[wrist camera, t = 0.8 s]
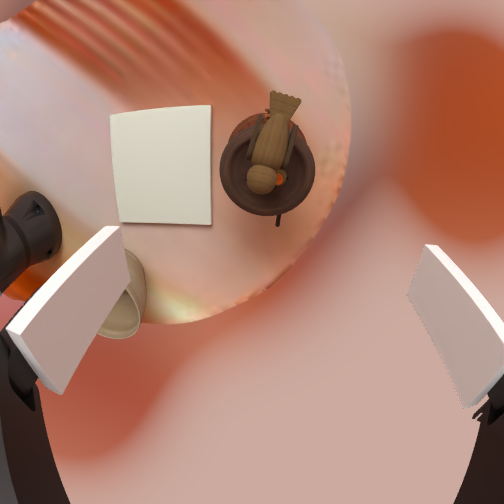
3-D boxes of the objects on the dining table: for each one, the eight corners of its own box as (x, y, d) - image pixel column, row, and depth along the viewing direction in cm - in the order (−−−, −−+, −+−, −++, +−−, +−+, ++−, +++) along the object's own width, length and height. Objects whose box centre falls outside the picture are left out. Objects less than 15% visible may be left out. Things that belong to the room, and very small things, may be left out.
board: (121, 220, 42) (119, 222, 42) (112, 114, 34) (109, 115, 33) (212, 222, 42) (211, 224, 41) (211, 105, 33) (210, 105, 33)
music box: (222, 104, 33) (203, 91, 16) (301, 102, 33) (359, 92, 16) (230, 206, 40) (222, 283, 23) (303, 202, 41) (348, 274, 23)
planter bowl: (79, 232, 44) (46, 261, 34) (150, 228, 43) (122, 261, 33) (102, 300, 52) (80, 334, 42) (169, 304, 51) (151, 344, 41)
